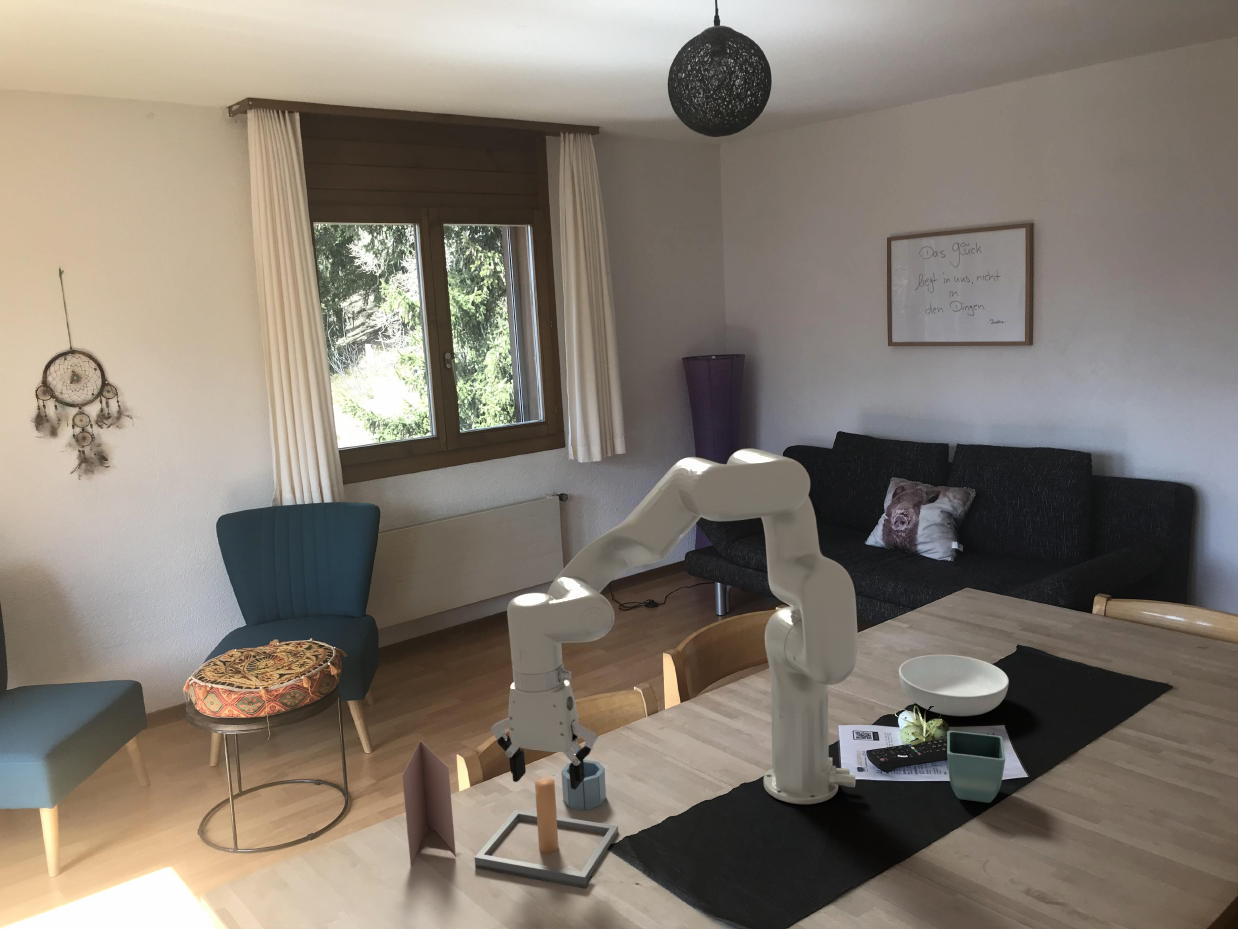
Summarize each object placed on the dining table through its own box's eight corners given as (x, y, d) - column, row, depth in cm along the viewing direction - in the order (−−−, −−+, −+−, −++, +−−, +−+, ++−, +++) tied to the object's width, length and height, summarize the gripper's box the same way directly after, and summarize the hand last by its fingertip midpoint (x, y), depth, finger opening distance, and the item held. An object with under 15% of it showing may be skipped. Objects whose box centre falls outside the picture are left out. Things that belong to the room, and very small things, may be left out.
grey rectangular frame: (618, 836, 150) (617, 826, 150) (585, 888, 137) (584, 877, 137) (516, 819, 156) (515, 809, 156) (475, 868, 143) (474, 857, 143)
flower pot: (1001, 784, 160) (1002, 735, 159) (1004, 811, 152) (1005, 759, 150) (946, 778, 163) (947, 729, 162) (946, 804, 155) (947, 753, 153)
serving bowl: (893, 721, 186) (893, 688, 184) (904, 680, 205) (904, 650, 204) (1007, 735, 178) (1008, 700, 177) (1007, 691, 197) (1008, 660, 196)
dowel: (561, 844, 147) (557, 779, 146) (553, 855, 145) (549, 788, 143) (544, 841, 148) (539, 776, 147) (535, 852, 146) (531, 785, 144)
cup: (610, 795, 162) (608, 763, 161) (596, 816, 156) (594, 782, 155) (574, 790, 165) (572, 758, 164) (558, 810, 158) (556, 777, 157)
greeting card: (422, 825, 156) (414, 740, 153) (467, 824, 156) (460, 739, 153) (405, 866, 145) (396, 775, 142) (453, 865, 144) (445, 774, 142)
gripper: (601, 670, 142) (609, 775, 145) (498, 662, 148) (508, 763, 151) (582, 691, 135) (591, 801, 138) (475, 681, 141) (486, 787, 144)
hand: (547, 781), depth 145 cm, fingers open, 9 cm apart
